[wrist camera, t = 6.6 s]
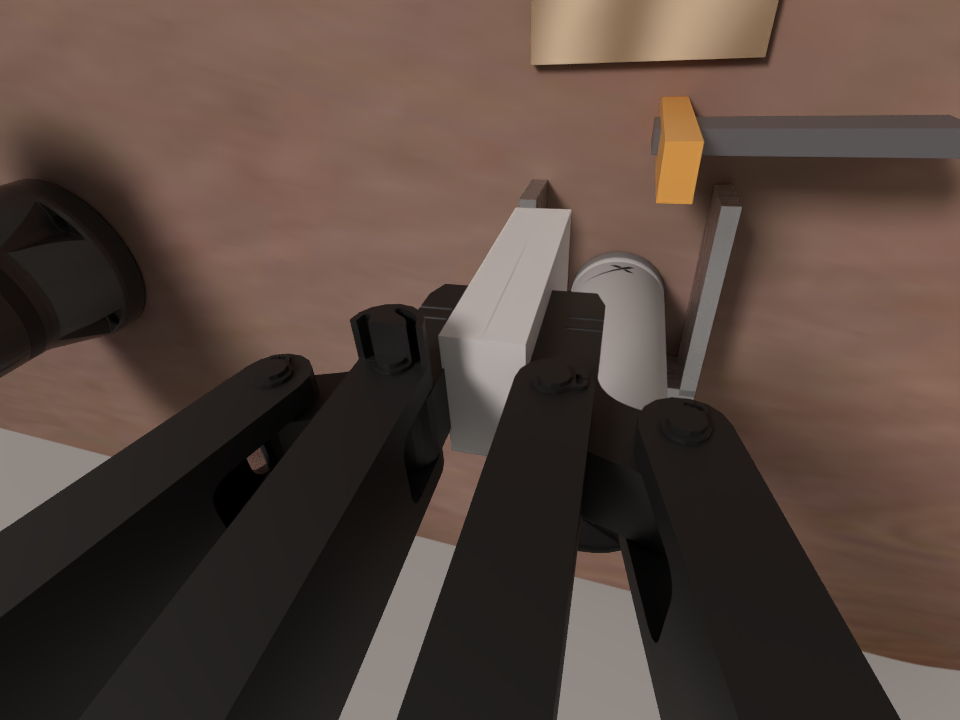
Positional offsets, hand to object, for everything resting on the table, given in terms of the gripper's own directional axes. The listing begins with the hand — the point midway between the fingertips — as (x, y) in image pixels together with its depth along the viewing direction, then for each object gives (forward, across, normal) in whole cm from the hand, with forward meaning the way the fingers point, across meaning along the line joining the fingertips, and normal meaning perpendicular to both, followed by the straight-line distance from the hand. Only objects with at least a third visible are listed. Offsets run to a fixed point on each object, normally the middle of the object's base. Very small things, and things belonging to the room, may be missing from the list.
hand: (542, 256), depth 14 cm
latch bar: (+20, +10, 0) cm, 22 cm away
